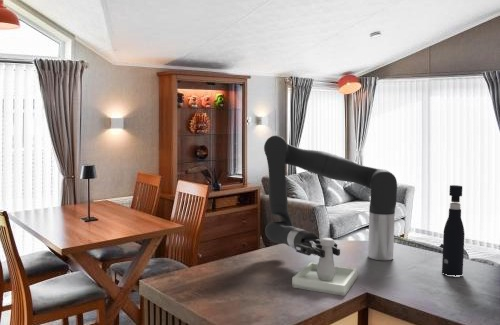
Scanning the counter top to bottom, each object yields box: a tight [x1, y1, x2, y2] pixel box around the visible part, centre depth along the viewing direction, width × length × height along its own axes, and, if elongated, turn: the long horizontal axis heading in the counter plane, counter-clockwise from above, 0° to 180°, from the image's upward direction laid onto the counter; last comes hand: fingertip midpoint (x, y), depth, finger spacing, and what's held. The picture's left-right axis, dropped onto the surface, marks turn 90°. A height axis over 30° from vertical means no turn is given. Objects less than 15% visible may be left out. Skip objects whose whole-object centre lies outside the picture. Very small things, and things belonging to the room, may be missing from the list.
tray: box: [291, 261, 358, 297], centre depth 143 cm, size 18×16×3 cm
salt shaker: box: [317, 237, 335, 281], centre depth 143 cm, size 6×6×13 cm
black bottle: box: [441, 184, 465, 276], centre depth 151 cm, size 6×6×30 cm
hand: (331, 253), depth 140 cm, fingers open, 5 cm apart
